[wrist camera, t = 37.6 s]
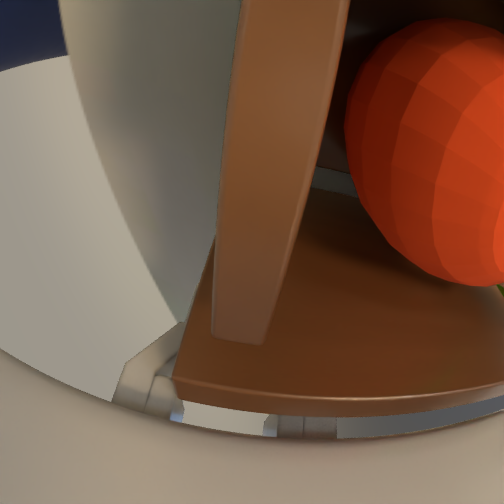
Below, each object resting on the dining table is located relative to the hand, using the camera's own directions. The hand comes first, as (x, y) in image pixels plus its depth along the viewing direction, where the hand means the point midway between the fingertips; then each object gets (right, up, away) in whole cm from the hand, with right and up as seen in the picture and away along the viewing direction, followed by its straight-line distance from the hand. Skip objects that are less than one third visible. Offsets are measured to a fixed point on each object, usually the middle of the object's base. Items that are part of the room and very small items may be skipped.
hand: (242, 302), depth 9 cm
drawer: (+6, +7, 0) cm, 9 cm away
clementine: (+7, +6, -1) cm, 9 cm away
